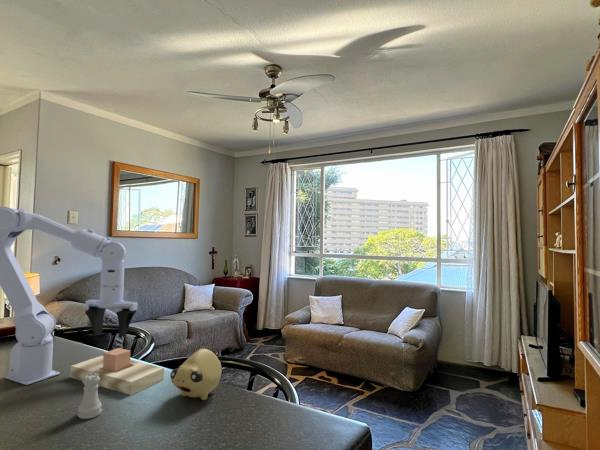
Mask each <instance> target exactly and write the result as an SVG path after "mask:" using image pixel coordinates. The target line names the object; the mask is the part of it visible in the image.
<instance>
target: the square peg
mask: <svg viewBox="0 0 600 450" xmlns="http://www.w3.org/2000/svg"><path fill="white" fill-rule="evenodd" d="M131 352H132V351H131V350H129V349H124V348H120V347H118V348H115V349H112V350H108V351H105V352H103V355H102V356H103V370H106V371H110V372H114V373H116V372H119V371H121V370H124V369H127V368H129V367H130V360H131Z"/></svg>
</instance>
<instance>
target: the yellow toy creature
mask: <svg viewBox="0 0 600 450" xmlns="http://www.w3.org/2000/svg"><path fill="white" fill-rule="evenodd" d="M221 377H222V364H221V361H220V360H219V358H218V356H217V354H215V353H214V352H213V351H211V350H210V349H207V348H200V349H198V350H197V351H195V352H194V353H193V354H191V355H190V356H188V358H187V359H186V360H185V361H184V362H183V363H182V364H181V365H179V366H178V368H177V367H176V368H173V370H172V371H171V372H170V380H171V381H170V382H171V383H172V384H173V386H174V387H176V388H177V389H179V391H180V392H181V395H182V396H183V397H186V396H187V397H190V398H200V399H201V400H202V401H206V400H207V399H208V395H209V393H211V392H212V391H213V390H214V389H215V388H216V387H218V386H219V383H220V380H221Z"/></svg>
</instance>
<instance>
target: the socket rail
mask: <svg viewBox="0 0 600 450" xmlns="http://www.w3.org/2000/svg"><path fill="white" fill-rule="evenodd" d="M69 369H70V375H69V377H70V378H71V379H74V380H78V381H80V382H81V381H83V379H84V376H85V375H87V376H88V375H89V374H90V373H91V375H93V373H96V374H99V375H98V376H99V377H100V380H99V382H98V386H99V387H102V388H106V389H108V390H112V391H114V392H119V393H122V394H125V395H129V396H132V395H134V394H137V393H138V392H140V391H142V390H145V389H146V388H149V387H152V386H153V385H155V384H158V383H160V382H162V381H164V380H165V377H164V376H165V367H161V366H159V365H158V366H157V365H152V364H149V363H145V362H140V361H135V360H131V359H130V367H129V368H127V369H124V370H121V371H119V372H116V373H114V372H110V371H106V370H103V355H99V356H96V357H93V358H90V359H88V360H85V361H82V362H78V363H76V364H72V365H70V368H69Z"/></svg>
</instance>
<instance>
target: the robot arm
mask: <svg viewBox="0 0 600 450" xmlns="http://www.w3.org/2000/svg"><path fill="white" fill-rule="evenodd" d="M32 230H34V231H37V230H38V231H39V232H43V233H46V234H49V235H52V236H54V237H57V238H59V239H63V240H66V241H67V242H70V243H69V244H70V245H71V247H72V249H75V250H78V251H80V252H82V253H84V254H87V255H89V256H92V257H95V258H100V260H101V261H102V262H101V269H100V287H99V288H100V289H99V299H87V300H85V309H86V310H85V311H84V312H85V315H86V316H87V318H88V320H89V322H90V324H91V329H92V332H93V335H94V336H99V335H102V333H103V326H104V325H103V324H104V317H105V312H106V310H108V309H111V310H118V311H116V312H115V314H116V316H117V320H118V338H124V337H126V336H127V334H128V330H129V328H130V327H129V326H130V324H131V321H132V320H133V318H134V316H135V315H136V313H137V310H138V301H137V302H135V301H130V300H129V301H128V300H124V290H125V289H124V288H125V287H124V286H125V267H124V266H125V261H124V258H125V257H126V255H127V254H126V253H127V250H126V247H125V246H124V245H123V244H122V243H121V242H119V241H117V240H115V241H112V240H113V238H111V237H108V236H107V237H104V236H102V235H100V234H97V233H95V230H94V229H91V228H88V229H85V228H83V229H82V228H81V229H79V230H75V229H73V228H70V227H68V226H66V225H64V224H62V223H59V222H57V221H54V220H52V219H50V218H48V217H46V216H43V215H41V214H37V213H35V212H29V211H25V210H24V209H21V208H11V207H8V206H0V288H1V290H2V292H3V293H4V295H5V297H6V299H7V301H8V303H9V304H10V307H11V309H12V311H13V319H12V320H13V321H12V322H13V324H14V326H15V334H14V335H15V338H16V340H17V341H18V342H16V343H15V344H14V345H13V347H12V348H11V351H10V354H9V357H10V358H9V374H7V375H6V376H4V379H7V380H10V381H13V382H15V383H19V384H21V385H24V386H25V385H26V386H27V385H32V384H34V383H37V382H39V381H43V380H46V379H49V378H53V377H55V376H58V375H60V371H56V370H53V354H54V353H53V351H54V350H53V349H54V336H52V332H54V330H55V329H56V325H57V320H56V318H55V316H54V315H52V314H51V313H50V312H48V310H47V309H46V307H45V306H44V305H42V304H41V303H40V302H39V301H38V300H37V297H36V295H35V294H34V291H33V289H32V287H31V285H30V284H29V281H28V279H27V277H26V276H25V275H26V274H24V271H23V269H22V268H21V266H20V263H19V261H18V260H17V258H16V256H15V254H14V252H13V250H12V246H13V244H14V243H15V241H16V240H17V237H18V236H20V235H21V234H22V233H24V232H25V231H32Z"/></svg>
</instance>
